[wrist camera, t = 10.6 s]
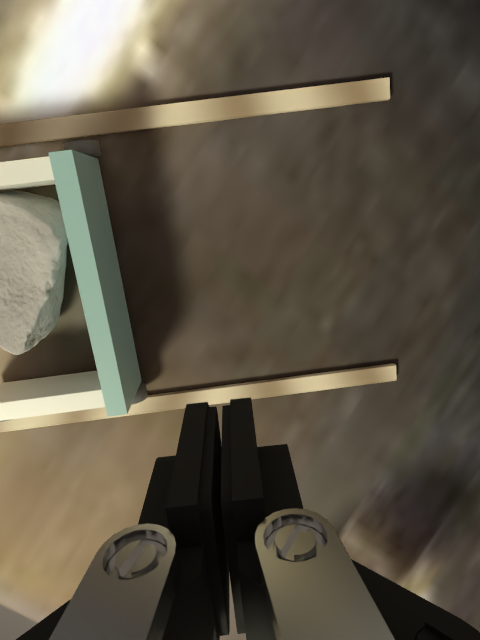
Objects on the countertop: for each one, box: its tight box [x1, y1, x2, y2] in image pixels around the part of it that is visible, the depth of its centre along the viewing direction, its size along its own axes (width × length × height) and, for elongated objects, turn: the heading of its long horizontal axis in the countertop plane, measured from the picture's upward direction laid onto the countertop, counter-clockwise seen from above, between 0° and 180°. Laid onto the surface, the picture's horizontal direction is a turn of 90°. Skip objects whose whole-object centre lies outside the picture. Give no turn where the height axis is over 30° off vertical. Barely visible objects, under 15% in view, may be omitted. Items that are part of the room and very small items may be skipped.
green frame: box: [0, 140, 148, 422], centre depth 26 cm, size 11×17×5 cm, turn 7°
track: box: [0, 77, 396, 432], centre depth 29 cm, size 32×20×1 cm, turn 97°
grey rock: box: [0, 190, 68, 355], centre depth 28 cm, size 10×6×6 cm, turn 153°
